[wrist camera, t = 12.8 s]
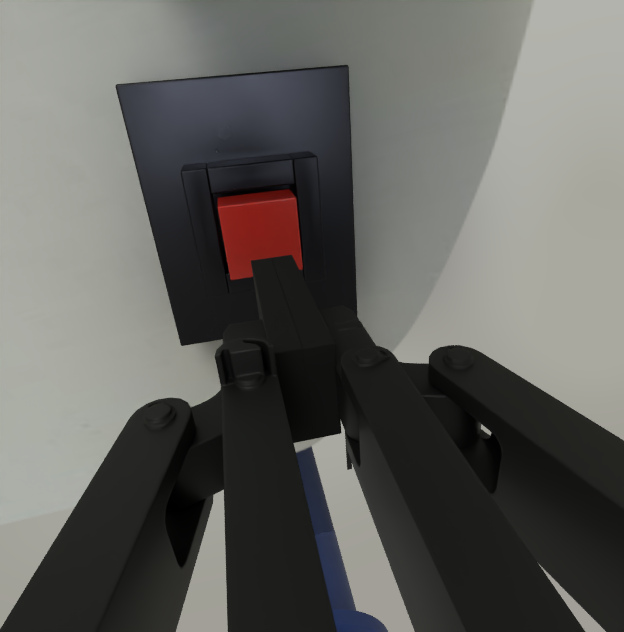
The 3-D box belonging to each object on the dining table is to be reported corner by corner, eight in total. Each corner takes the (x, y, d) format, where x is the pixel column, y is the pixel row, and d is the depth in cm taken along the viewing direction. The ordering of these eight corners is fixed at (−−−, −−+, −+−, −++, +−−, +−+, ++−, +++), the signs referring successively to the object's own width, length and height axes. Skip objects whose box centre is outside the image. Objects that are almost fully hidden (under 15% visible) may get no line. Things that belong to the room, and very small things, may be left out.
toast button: (296, 256, 24) (303, 270, 22) (229, 265, 23) (230, 280, 22) (289, 188, 22) (296, 197, 20) (217, 197, 22) (217, 206, 20)
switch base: (345, 298, 31) (367, 332, 26) (184, 323, 29) (178, 364, 25) (334, 67, 24) (360, 62, 20) (126, 85, 23) (105, 84, 18)
